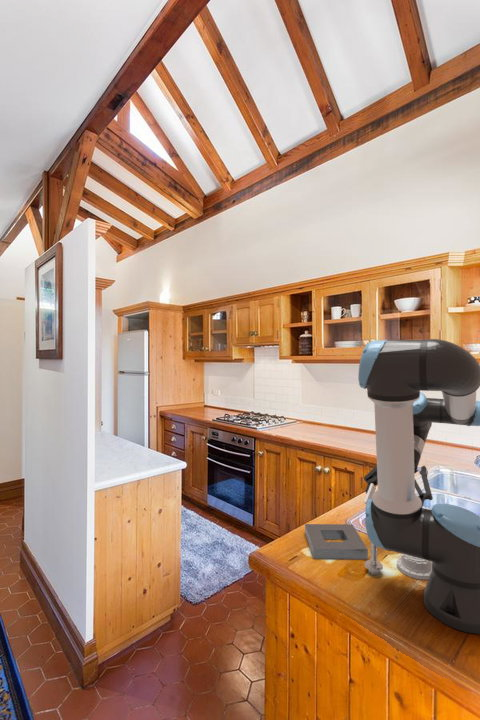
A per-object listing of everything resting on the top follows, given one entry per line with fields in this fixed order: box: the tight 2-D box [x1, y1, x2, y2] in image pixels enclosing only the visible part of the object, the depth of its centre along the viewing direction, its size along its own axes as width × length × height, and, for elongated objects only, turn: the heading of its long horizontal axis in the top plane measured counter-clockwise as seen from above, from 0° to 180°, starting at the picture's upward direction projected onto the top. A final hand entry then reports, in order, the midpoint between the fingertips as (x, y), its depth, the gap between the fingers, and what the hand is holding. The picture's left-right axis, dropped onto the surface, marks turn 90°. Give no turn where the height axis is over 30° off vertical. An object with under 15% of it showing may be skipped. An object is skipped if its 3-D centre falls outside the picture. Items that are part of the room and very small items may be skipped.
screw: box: [364, 541, 384, 576], centre depth 102 cm, size 13×5×5 cm
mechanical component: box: [396, 553, 432, 581], centre depth 104 cm, size 10×4×10 cm
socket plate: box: [304, 523, 369, 560], centre depth 117 cm, size 16×16×3 cm
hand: (388, 511), depth 109 cm, fingers open, 13 cm apart
